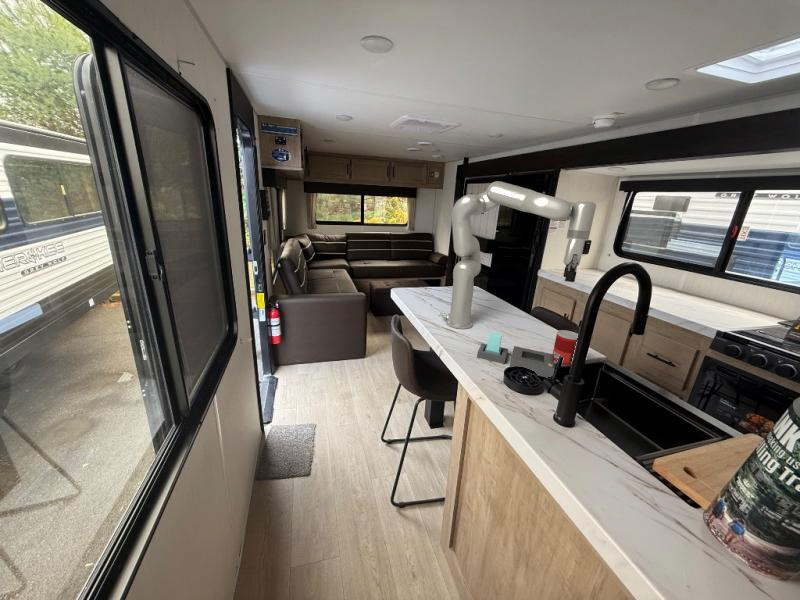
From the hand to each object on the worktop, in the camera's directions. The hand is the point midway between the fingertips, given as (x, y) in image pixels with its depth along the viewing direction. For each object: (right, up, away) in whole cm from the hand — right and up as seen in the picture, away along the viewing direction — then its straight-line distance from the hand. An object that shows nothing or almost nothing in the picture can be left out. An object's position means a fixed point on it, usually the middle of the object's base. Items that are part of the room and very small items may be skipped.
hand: (568, 279), depth 122 cm
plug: (-32, -30, -4) cm, 44 cm away
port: (-19, -32, -10) cm, 39 cm away
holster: (-32, -30, -4) cm, 44 cm away
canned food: (-4, -32, -4) cm, 32 cm away
